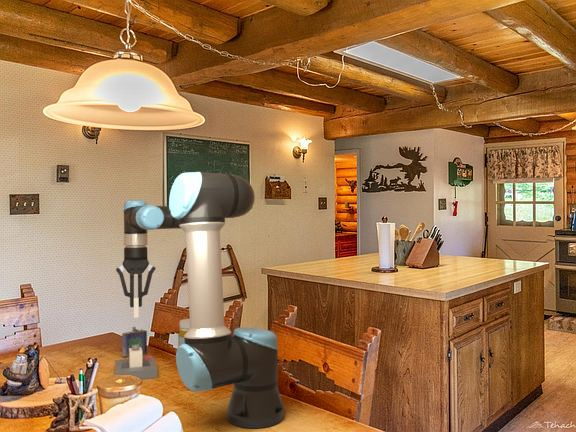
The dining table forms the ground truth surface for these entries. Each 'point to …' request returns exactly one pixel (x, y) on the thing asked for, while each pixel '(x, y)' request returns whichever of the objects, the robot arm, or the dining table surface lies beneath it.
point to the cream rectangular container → (135, 356)
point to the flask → (134, 341)
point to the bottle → (183, 330)
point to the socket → (137, 368)
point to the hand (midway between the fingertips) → (136, 316)
